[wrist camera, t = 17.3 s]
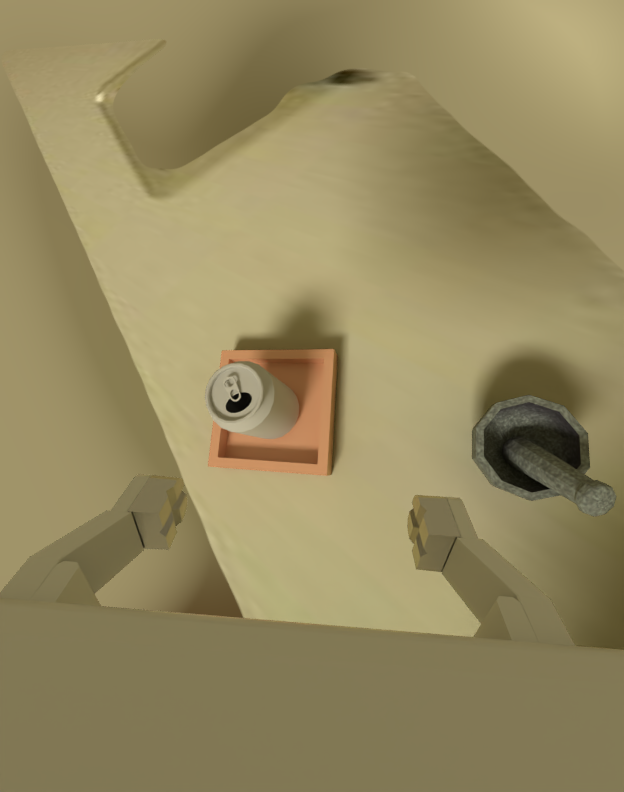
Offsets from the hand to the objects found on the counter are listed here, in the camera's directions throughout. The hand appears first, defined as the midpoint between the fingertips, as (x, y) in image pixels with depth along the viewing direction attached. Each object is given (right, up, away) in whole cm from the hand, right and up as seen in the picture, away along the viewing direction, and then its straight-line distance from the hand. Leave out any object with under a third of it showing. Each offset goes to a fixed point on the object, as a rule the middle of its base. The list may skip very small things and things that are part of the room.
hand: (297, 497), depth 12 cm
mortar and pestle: (+23, -3, +26) cm, 35 cm away
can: (-4, +2, +33) cm, 33 cm away
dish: (-4, +1, +33) cm, 34 cm away
